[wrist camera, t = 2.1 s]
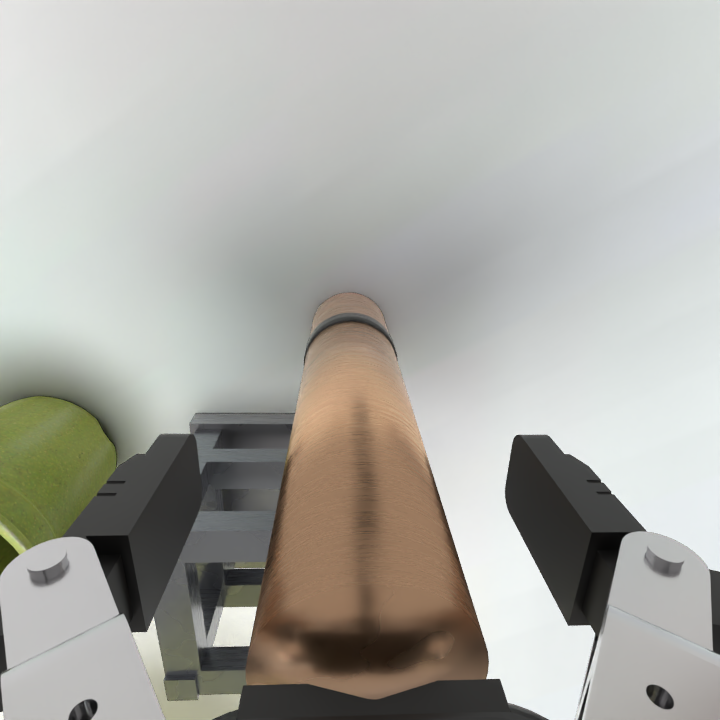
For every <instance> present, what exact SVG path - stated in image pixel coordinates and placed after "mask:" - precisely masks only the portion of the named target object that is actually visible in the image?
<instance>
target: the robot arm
mask: <svg viewBox="0 0 720 720" xmlns="http://www.w3.org/2000/svg"><path fill="white" fill-rule="evenodd" d="M505 498H506V504H507V508H508V511H509V513H510V515H511V517H512V519H513V521H514V522H515V524H516V526H517V528H518V530H519V532H520V534H521V536H522V538H523V540H524V542H525V544H526V545H527V547H528V549H529V551H530V553H531V555H532V557H533V559H534V561H535V563H536V565H537V567H538V568H539V570H540V572H541V574H542V576H543V578H544V580H545V582H546V584H547V586H548V588H549V589H550V591H551V593H552V595H553V597H554V599H555V601H556V603H557V605H558V607H559V609H560V611H561V612H562V614H563V616H564V618H565V620H566V622H567V624H568V626H570V625H591V627H592V629H593V630H594V632H595V637H594V640H593V644H592V648H591V652H590V656H589V660H588V665H587V669H586V673H585V677H584V682H583V686H582V690H581V694H580V698H579V703H578V707H577V711H576V715H575V720H720V572H718V571H713V570H709V569H708V567H707V565H706V564H705V562H704V561H703V560H702V559H701V558H700V557H699V556H698V555H697V554H696V553H695V552H694V551H692V550H691V549H689V548H688V547H687V546H685V545H683V544H682V543H680V542H678V541H676V540H674V539H671V538H669V537H666V536H663V535H660V534H657V533H652V532H647V531H646V530H645V529H644V528H643V527H642V526H641V524H640V523H639V522H638V521H637V520H636V519H635V518H634V517H633V515H632V514H631V513H630V512H629V511H628V510H627V509H626V508H625V507H624V505H623V504H622V503H621V502H620V501H619V500H618V499H617V498H616V496H615V495H612V494H611V491H610V490H609V489H608V488H607V486H606V485H605V484H604V483H601V480H600V479H599V477H598V476H597V475H596V474H595V473H594V472H593V471H592V470H591V468H590V467H589V466H587V465H586V464H584V463H583V462H581V461H579V460H578V459H576V458H575V457H573V456H572V455H570V454H564V453H563V452H562V451H561V450H560V448H559V447H558V446H557V445H556V444H555V442H554V441H553V440H552V439H551V438H550V437H549V436H548V435H517V436H515V438H514V440H513V443H512V449H511V455H510V461H509V468H508V474H507V480H506V486H505ZM201 499H202V485H201V476H200V468H199V459H198V450H197V442H196V438H195V436H194V435H193V434H161V435H159V436H158V438H157V439H156V440H155V442H154V443H153V445H152V446H151V447H150V449H149V450H148V451H147V453H146V454H136V455H135V456H133V457H132V458H130V459H129V460H127V461H126V462H124V463H123V464H121V465H120V466H118V467H117V468H116V470H115V471H114V472H113V474H112V475H111V476H110V477H109V479H108V480H107V483H106V484H104V485H103V486H102V487H101V489H100V490H99V491H98V492H97V496H94V497H93V499H92V500H91V501H90V502H89V504H88V505H87V506H86V507H85V509H84V510H83V511H82V512H81V514H80V515H79V516H78V517H77V519H76V520H75V521H74V522H73V524H72V525H71V526H70V527H69V529H68V530H67V531H66V532H65V534H64V535H63V536H62V537H61V538H57V539H53V540H49V541H46V542H43V543H41V544H38V545H36V546H34V547H32V548H30V549H28V550H27V551H25V552H23V553H22V554H20V555H19V556H18V557H16V558H15V559H14V560H13V561H12V562H11V563H9V564H8V566H7V567H6V568H5V569H4V571H3V572H2V574H1V576H0V712H2V711H3V714H4V720H166V719H165V717H164V714H163V712H162V709H161V707H160V704H159V701H158V699H157V696H156V694H155V691H154V689H153V686H152V684H151V681H150V678H149V676H148V673H147V671H146V668H145V666H144V663H143V661H142V658H141V655H140V653H139V650H138V648H137V645H136V643H135V640H134V638H133V635H132V632H147V630H148V628H149V626H150V623H151V621H152V619H153V616H154V614H155V612H156V609H157V607H158V605H159V603H160V600H161V598H162V596H163V593H164V591H165V589H166V586H167V584H168V582H169V580H170V577H171V575H172V573H173V570H174V568H175V566H176V564H177V561H178V559H179V557H180V554H181V552H182V550H183V547H184V545H185V543H186V541H187V538H188V536H189V534H190V531H191V529H192V527H193V524H194V522H195V520H196V518H197V515H198V513H199V510H200V505H201ZM213 720H548V719H546V718H544V717H542V716H540V715H538V714H537V713H535V712H533V711H530V710H528V709H525V708H522V707H520V706H517V705H514V704H510V703H507V700H506V697H505V693H504V690H503V687H502V684H501V681H500V679H479V680H438V681H435V682H432V683H428V684H425V685H422V686H419V687H416V688H413V689H409V690H406V691H403V692H400V693H397V694H394V695H390V696H387V697H384V698H381V699H366V698H362V697H358V696H354V695H350V694H346V693H342V692H338V691H334V690H330V689H326V688H322V687H318V686H314V685H310V684H277V685H243V688H242V693H241V699H240V704H239V709H238V710H235V711H232V712H229V713H226V714H224V715H222V716H220V717H217V718H215V719H213Z"/></svg>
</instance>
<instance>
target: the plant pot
mask: <svg viewBox="0 0 720 720" xmlns="http://www.w3.org/2000/svg"><path fill="white" fill-rule="evenodd" d="M116 462H117V460H116V451H115V447H114V444H113V443H112V442H111V441H110V440H109V439H108V438H107V436H106V435H105V434H104V432H103V430H102V428H101V426H100V424H99V422H98V420H97V419H96V418H95V417H94V416H92V415H91V414H90V413H88V412H87V411H86V410H84V409H82V408H81V407H79V406H77V405H75V404H73V403H70V402H68V401H64V400H61V399H57V398H52V397H44V396H35V397H28V398H24V399H20V400H16V401H13V402H11V403H8V404H6V405H4V406H1V407H0V576H1V574H2V572H3V571H4V569H5V568H6V567H7V566H8V564H9V563H11V562H12V561H13V560H14V559H15V558H16V557H18V556H19V555H20V554H22V553H23V552H25V551H27V550H28V549H30V548H32V547H34V546H36V545H38V544H41V543H43V542H46V541H49V540H53V539H57V538H61V537H62V536H63V535H64V534H65V532H66V531H67V530H68V529H69V527H70V526H71V525H72V524H73V522H74V521H75V520H76V519H77V517H78V516H79V515H80V514H81V512H82V511H83V510H84V509H85V507H86V506H87V505H88V504H89V502H90V501H91V500H92V499H93V497H94V496H97V492H98V491H99V490H100V489H101V487H102V486H103V485H104V484H106V483H107V480H108V479H109V477H110V476H111V475H112V474H113V472H114V471H115V469H116Z"/></svg>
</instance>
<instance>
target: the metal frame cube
mask: <svg viewBox="0 0 720 720" xmlns="http://www.w3.org/2000/svg"><path fill="white" fill-rule="evenodd" d="M294 416H295V414H195V415H194V417H193V419H192V420H191V422H190V423H189V425H190V433H191V434H193V435H194V436H195V438H196V442H197V450H198V459H199V468H200V476H201V485H202V499H201V505H200V510H199V513H198V515H197V518H196V520H195V522H194V524H193V527H192V529H191V531H190V534H189V536H188V538H187V541H186V543H185V545H184V547H183V550H182V552H181V554H180V557H179V559H178V561H177V564H176V566H175V568H174V570H173V573H172V575H171V577H170V580H169V582H168V584H167V586H166V589H165V591H164V593H163V596H162V598H161V600H160V603H159V605H158V607H157V609H156V612H155V614H154V619H155V624H156V630H157V635H158V640H159V645H160V650H161V655H162V661H163V666H164V671H165V678H164V685H165V690H166V695H167V700H168V701H178V700H198V698H199V695H211V694H241V693H242V688H243V685H247V683H246V662H247V657H248V652H249V647H250V646H245V647H213V643H214V639H215V636H216V632H217V628H218V625H219V621H220V617H221V614H222V610H223V607H257V606H258V601H259V596H260V590H261V585H262V580H263V575H264V570H265V569H234V568H265V565H266V560H267V555H268V549H269V544H270V539H271V534H272V529H273V524H274V519H275V513H276V508H277V503H278V498H279V493H280V488H281V483H282V477H283V472H284V467H285V462H286V457H287V452H288V447H289V442H290V436H291V431H292V426H293V421H294Z"/></svg>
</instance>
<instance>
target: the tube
mask: <svg viewBox="0 0 720 720" xmlns="http://www.w3.org/2000/svg"><path fill="white" fill-rule="evenodd" d="M488 664H489V660H488V651H487V648H486V644H485V641H484V638H483V635H482V631H481V628H480V625H479V622H478V618H477V615H476V612H475V609H474V606H473V602H472V599H471V596H470V593H469V590H468V586H467V583H466V580H465V577H464V574H463V570H462V567H461V564H460V561H459V557H458V554H457V551H456V548H455V545H454V541H453V538H452V535H451V532H450V529H449V525H448V522H447V519H446V516H445V513H444V509H443V506H442V503H441V500H440V496H439V493H438V490H437V487H436V484H435V480H434V477H433V474H432V471H431V468H430V464H429V461H428V458H427V455H426V451H425V448H424V445H423V442H422V439H421V435H420V432H419V429H418V426H417V423H416V419H415V416H414V413H413V410H412V407H411V403H410V400H409V397H408V394H407V390H406V387H405V384H404V381H403V378H402V374H401V371H400V368H399V365H398V362H397V354H396V351H395V347H394V344H393V341H392V339H391V336H390V334H389V333H388V329H387V326H386V323H385V320H384V317H383V314H382V312H381V310H380V309H379V307H378V306H377V305H376V304H375V303H374V302H373V301H372V300H371V299H369V298H368V297H366V296H364V295H361V294H357V293H350V292H349V293H340V294H337V295H334V296H332V297H330V298H329V299H327V300H326V301H324V302H323V303H322V304H321V305H320V307H319V308H318V310H317V311H316V313H315V316H314V319H313V323H312V329H311V334H310V338H309V340H308V343H307V347H306V352H305V357H304V370H303V375H302V380H301V385H300V390H299V395H298V400H297V406H296V411H295V416H294V421H293V426H292V431H291V436H290V442H289V447H288V452H287V457H286V462H285V467H284V472H283V477H282V483H281V488H280V493H279V498H278V503H277V508H276V513H275V519H274V524H273V529H272V534H271V539H270V544H269V549H268V555H267V560H266V565H265V570H264V575H263V580H262V585H261V590H260V596H259V601H258V606H257V611H256V616H255V621H254V626H253V632H252V637H251V642H250V647H249V652H248V657H247V662H246V683H247V685H277V684H310V685H314V686H318V687H322V688H326V689H330V690H334V691H338V692H342V693H346V694H350V695H354V696H358V697H362V698H366V699H381V698H384V697H387V696H390V695H394V694H397V693H400V692H403V691H406V690H409V689H413V688H416V687H419V686H422V685H425V684H428V683H432V682H435V681H438V680H479V679H486V677H487V674H488Z"/></svg>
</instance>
